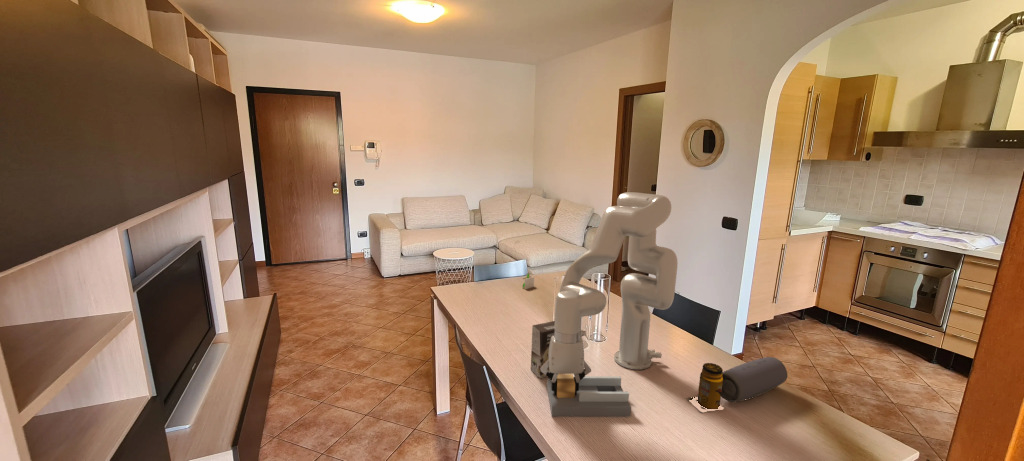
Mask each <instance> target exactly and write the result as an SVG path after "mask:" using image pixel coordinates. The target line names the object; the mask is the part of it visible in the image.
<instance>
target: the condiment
mask: <svg viewBox="0 0 1024 461" xmlns="http://www.w3.org/2000/svg"><path fill="white" fill-rule="evenodd" d="M722 372H724V370H723V367H721V366H720V365H718V364H716V363H712V362H705V363H703V365H702V369H701V372H700V374H699V382H698V389H697V390H698V391H697V396H698V400H697V401H698V403H699V404H700V405H701V406H703V407H705V408H707V409H718V407H719V406H720V404H721V400H722V397H721V392H722V384H723V377H722ZM691 397H692V398H691ZM693 397H694V398H695V396H690V397H689V396H687V397H685V399H686V401H687V402H689V400H692V399H693Z"/></svg>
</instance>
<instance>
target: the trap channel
mask: <svg viewBox="0 0 1024 461" xmlns="http://www.w3.org/2000/svg"><path fill="white" fill-rule="evenodd" d="M573 377H575V376H574V375H573ZM551 383H552V381H551V380H550V379H549V378H548V379H547V378H546V390H547V391H546V392H547V397H548V398H547V399H548V403H549V408H550V415H551V417H553V418H554V417H557V418H558V417H559V418H562V417H565V418H566V417H567V418H568V417H569V418H574V417H576V418H577V417H578V418H579V417H580V418H581V417H582V418H583V417H586V418H587V417H588V418H589V417H590V418H593V417H595V418H596V417H597V418H598V417H602V418H603V417H606V418H607V417H608V418H611V417H612V418H614V417H615V418H621V417H622V418H630V417H631V415H632V414H631V412H632V406H631V404H630V402H629V399H630V398H629V397H630V392H629V391H624V389H623V388H622V376H616V375H615V376H609V375H608V376H606V375H605V376H602V375H601V376H599V375H598V376H595V375H591V376H589V375H585V377H584V378H583V379H581V380H580V383H579V390H578V391H577V394H576V395H575V398H557V395H554V391H552V390H551Z"/></svg>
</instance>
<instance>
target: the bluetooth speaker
mask: <svg viewBox="0 0 1024 461" xmlns="http://www.w3.org/2000/svg"><path fill="white" fill-rule="evenodd" d="M722 377H723V384H722V392H721V399H723V400H725V401H727V402H729V403H739V402H742V401H746V400H745V399H748V400H750V399H749V398H751V399H753V398H752V397H754V398H756V397H759V396H760V395H763V394H766V393H767V392H768V391H771V390H773V389H774V388H777V387H778V386H780V385H782V384H784V383H785V382H786V381H787V380H788V371H787V367H786V366H785V364H784V363H783V362H782V361H781V360H780V359H778V358H776V357H773V356H767V357H762V358H757V359H754V360H751V361H748V362H744V363H742V364H739V365H736V366H734V367H731V368H729V369H726V370H723V372H722ZM758 395H759V396H758ZM755 396H756V397H755Z"/></svg>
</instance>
